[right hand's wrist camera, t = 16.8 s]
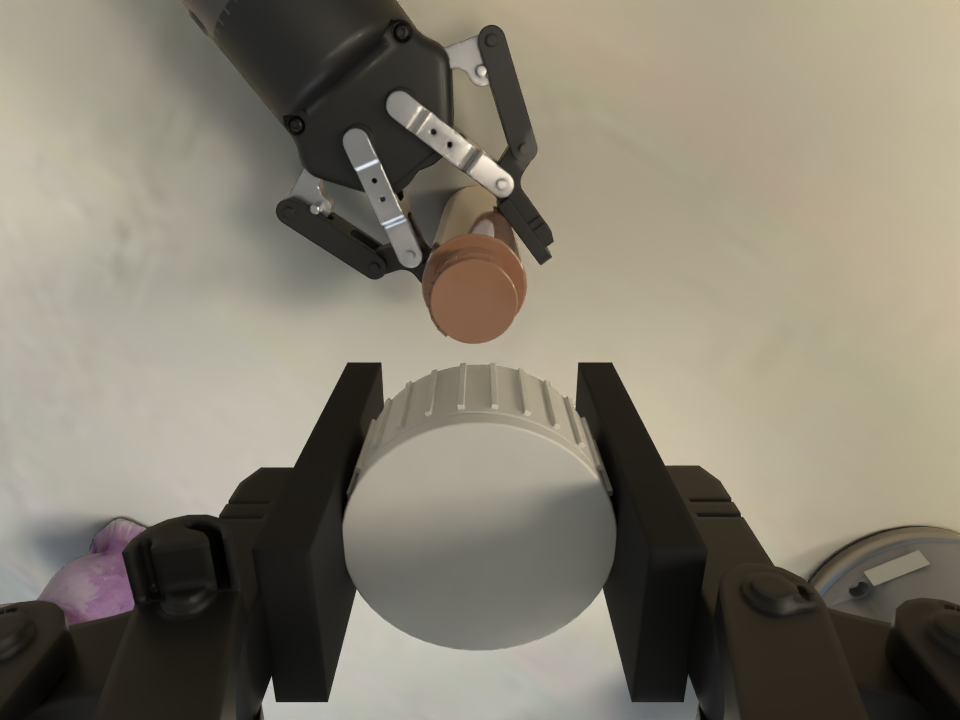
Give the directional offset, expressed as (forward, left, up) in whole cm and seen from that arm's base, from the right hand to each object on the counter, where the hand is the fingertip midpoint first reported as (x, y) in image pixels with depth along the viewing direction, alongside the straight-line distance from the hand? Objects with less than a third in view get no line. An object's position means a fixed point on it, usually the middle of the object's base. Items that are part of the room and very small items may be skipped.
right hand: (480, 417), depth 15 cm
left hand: (-1, +2, -19) cm, 19 cm away
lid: (0, 0, +4) cm, 4 cm away
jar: (0, 0, -25) cm, 25 cm away
